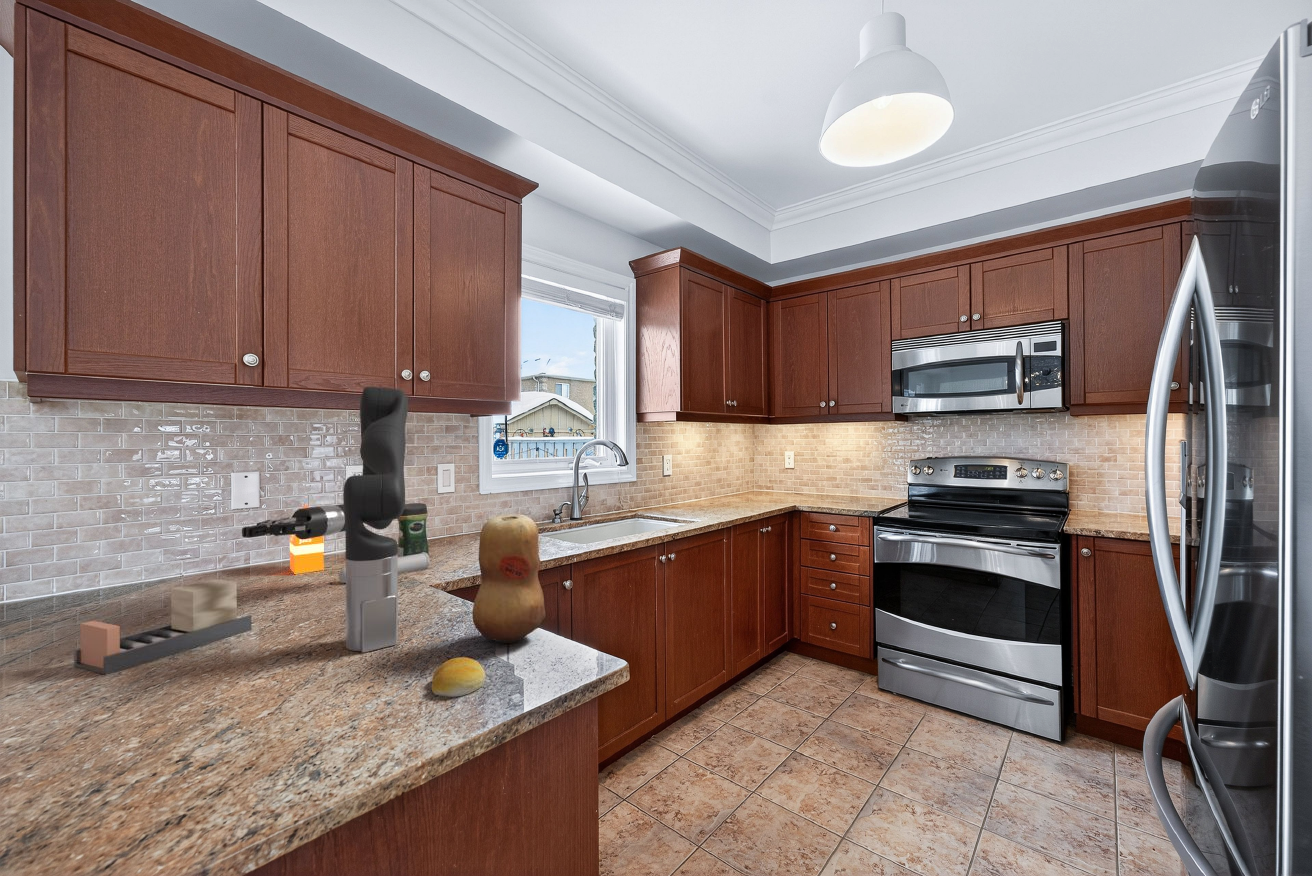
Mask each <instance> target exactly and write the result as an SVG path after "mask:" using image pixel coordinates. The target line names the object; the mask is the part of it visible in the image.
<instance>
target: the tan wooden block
mask: <svg viewBox="0 0 1312 876" xmlns="http://www.w3.org/2000/svg"><path fill="white" fill-rule="evenodd" d="M237 583H238V582H237V581H232V580H224V579H216V578H214V579H210V580H204V581H200V582H195V583H191V584H186V585H182V586H177V587H172V588H171V589H170V590H171V592H170V593H171V594H170V595H171V598H170V599H171V601H170V602H171V603H170V604H171V607H170V610H171V611H170V613H171V615H170V616H171V621H170V622H171V623H170V624H171V628H172V629H177V630H182V631H188V632H192V631H196V630H199V629H203V628H206V627H210V626H213V625H216V624H220V623H223V622H227V621H230V620H234V619H237V618H238V617H237V611H238V607H237V605H238V603H237V600H238V598H237V597H238V596H237V595H238V594H237V593H238V592H237V591H238V590H237V589H238V588H237V587H238V585H237Z"/></svg>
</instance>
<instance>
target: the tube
mask: <svg viewBox="0 0 1312 876" xmlns="http://www.w3.org/2000/svg"><path fill="white" fill-rule="evenodd" d="M430 562H431V561H430V556H429V555H428V554H427V553H425V552H422V553H421V554H415V555H409V556H404V557H398V575H400V574H399V573H403V574H406V573H405V572H408V573H412V572H411V571H413V572H417V570H418V571H423V570H428V569H429V567H430V564H431V563H430ZM345 574H346V566H344V567H342V568H341V569H340V571H339V572H338V578H339V583H340V584H344V583H346V581H345Z"/></svg>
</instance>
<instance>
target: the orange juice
mask: <svg viewBox="0 0 1312 876" xmlns="http://www.w3.org/2000/svg"><path fill="white" fill-rule="evenodd" d="M302 508H309V506H307V505H306V504H303V506H302V507H301V509H302ZM324 545H325V543H324V536H321V537H316V538H310V539H304V540H302V539H299V538H297V537H296V536H295V535H289V570H290V569H291V570H292V571H293V572H294V574H298V573H305V572H313V571H319V570H324V560H325V559H324V551H325V550H324V548H325V547H324ZM324 571H325V570H324ZM294 574H293V575H294Z"/></svg>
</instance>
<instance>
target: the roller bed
mask: <svg viewBox="0 0 1312 876" xmlns="http://www.w3.org/2000/svg"><path fill="white" fill-rule="evenodd" d="M252 630H253V629H252V615H251V614H249V615H245V616H241V617H237V619H234V620H230V621H227V622H223V623H220V624H216V625H213V626H210V627H206V628H203V629H199V630H196V631H192V632H188V631H182V630H177V629H172V628H171V623H170V624H166V625H162V626H158V627H155V628H151V629H146V630H143V631H139V632H137V633H133V634H128V635H124V636H120V652H119V653H115V654H112V655H108V656H105V657H103V668H99V667H95V666H92V665H88V664H84V663H81V647H80V648H76V649H74V650H73V667H75V668H77V669H78V668H79V669H81V668H82V670H85V671H89V672H93V673H96V674H100V673H101V675H104V674H108V675H110V673H111V674H113V672H114V673H117V672H120V671H124V670H126V668H127V669H130V668H132V667H136V665H137V666H139V664H140V665H142V663H143V664H146V663H149V662H152V661H155V660H159V659H162V658H165V657H169V656H171V655H174V654H175V655H176V654H177V653H181V652H185V651H187V650H191V649H195V648H197V647H201V646H204V645H207V644H209V643H213V642H217V641H220V640H224V639H225V638H229V637H232V636H235V635H239V634H242V633H245V632H248V631H252ZM123 669H124V670H123Z"/></svg>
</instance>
